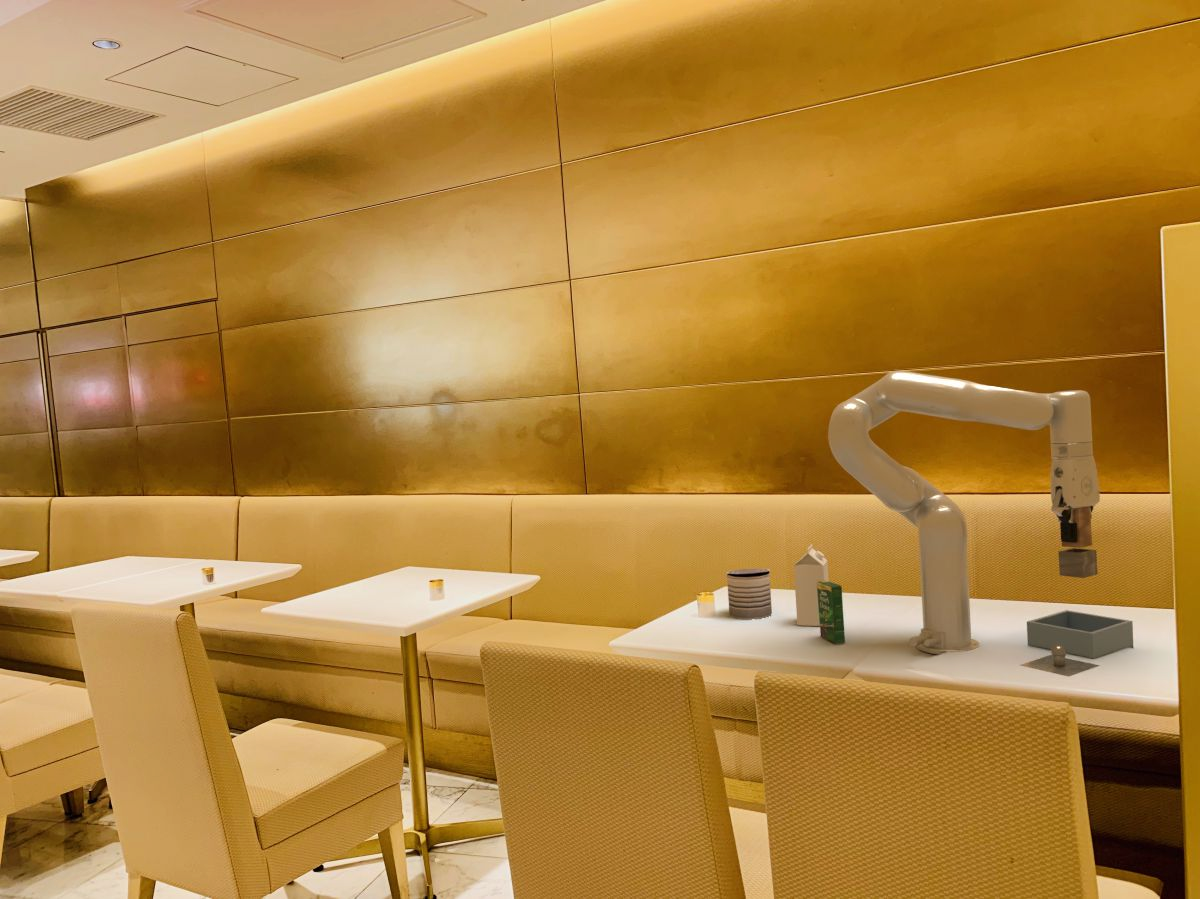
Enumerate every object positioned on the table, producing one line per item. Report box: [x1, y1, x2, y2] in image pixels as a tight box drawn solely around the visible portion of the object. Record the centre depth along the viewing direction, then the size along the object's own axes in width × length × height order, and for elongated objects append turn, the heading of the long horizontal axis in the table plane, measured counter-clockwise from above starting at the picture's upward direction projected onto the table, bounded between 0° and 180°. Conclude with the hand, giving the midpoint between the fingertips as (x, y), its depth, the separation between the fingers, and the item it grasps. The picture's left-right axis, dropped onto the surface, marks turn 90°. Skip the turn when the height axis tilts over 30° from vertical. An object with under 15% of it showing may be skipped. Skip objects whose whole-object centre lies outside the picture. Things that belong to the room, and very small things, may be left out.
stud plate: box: [1020, 645, 1101, 678], centre depth 174 cm, size 10×10×5 cm
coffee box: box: [817, 580, 846, 645], centre depth 206 cm, size 8×3×13 cm, turn 10°
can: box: [725, 568, 773, 621], centre depth 235 cm, size 11×11×12 cm
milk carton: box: [793, 544, 830, 627], centre depth 222 cm, size 7×7×19 cm
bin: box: [1026, 609, 1134, 660], centre depth 186 cm, size 14×14×6 cm
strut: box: [1058, 506, 1098, 579], centre depth 185 cm, size 5×5×14 cm
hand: (1076, 539), depth 185 cm, fingers closed on strut, 4 cm apart
